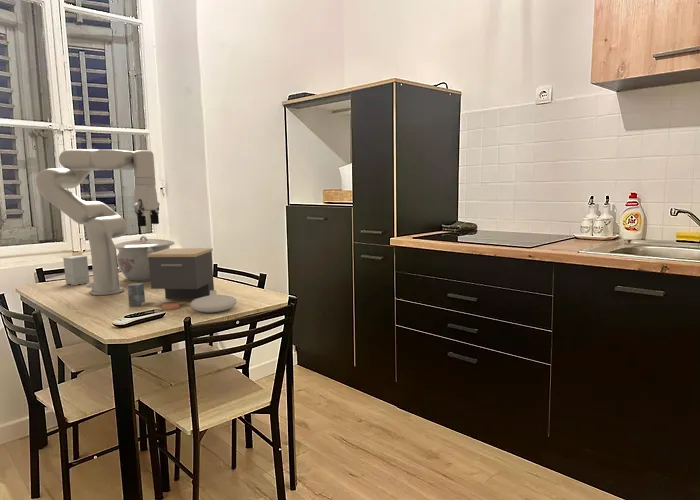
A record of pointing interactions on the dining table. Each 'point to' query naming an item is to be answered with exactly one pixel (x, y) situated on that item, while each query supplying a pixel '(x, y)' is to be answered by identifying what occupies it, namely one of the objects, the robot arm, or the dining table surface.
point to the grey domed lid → (213, 303)
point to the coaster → (170, 306)
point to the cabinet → (182, 272)
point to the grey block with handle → (138, 297)
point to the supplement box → (76, 270)
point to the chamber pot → (138, 256)
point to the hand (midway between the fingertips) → (148, 225)
